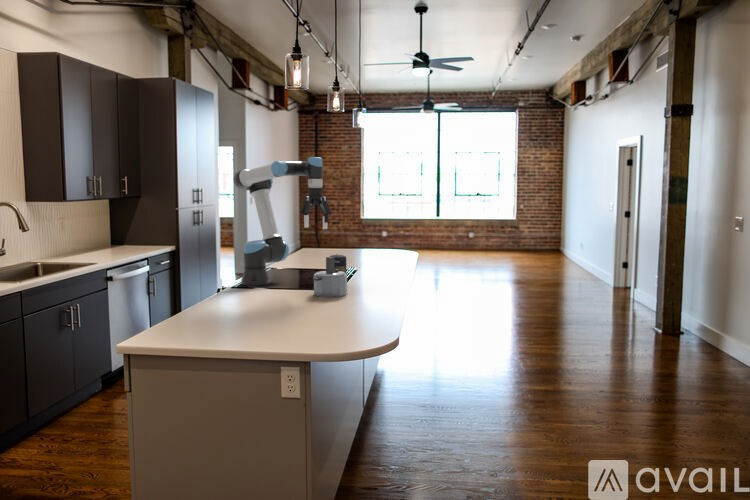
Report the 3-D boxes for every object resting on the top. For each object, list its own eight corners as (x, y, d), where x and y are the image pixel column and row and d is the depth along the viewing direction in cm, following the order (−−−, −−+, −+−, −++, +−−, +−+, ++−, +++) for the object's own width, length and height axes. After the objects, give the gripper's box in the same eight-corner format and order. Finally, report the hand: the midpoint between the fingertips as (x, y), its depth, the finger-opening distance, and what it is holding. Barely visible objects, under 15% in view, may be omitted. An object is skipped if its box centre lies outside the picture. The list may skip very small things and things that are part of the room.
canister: (347, 285, 326) (347, 252, 323) (345, 289, 316) (345, 255, 314) (330, 285, 327) (330, 252, 324) (327, 288, 317) (326, 254, 315)
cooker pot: (303, 295, 299) (303, 275, 298) (333, 289, 316) (333, 270, 315) (326, 299, 289) (326, 278, 288) (357, 292, 306) (357, 273, 305)
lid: (309, 278, 301) (308, 257, 300) (329, 274, 312) (329, 254, 311) (330, 281, 291) (330, 260, 290) (351, 277, 303) (351, 257, 302)
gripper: (293, 187, 317) (294, 227, 320) (327, 187, 302) (328, 230, 304) (303, 186, 323) (304, 226, 326) (338, 187, 308) (338, 229, 310)
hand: (315, 228), depth 315 cm, fingers open, 13 cm apart
